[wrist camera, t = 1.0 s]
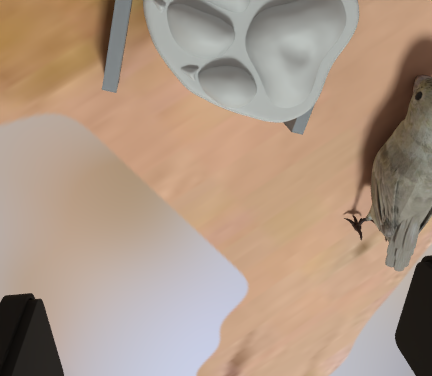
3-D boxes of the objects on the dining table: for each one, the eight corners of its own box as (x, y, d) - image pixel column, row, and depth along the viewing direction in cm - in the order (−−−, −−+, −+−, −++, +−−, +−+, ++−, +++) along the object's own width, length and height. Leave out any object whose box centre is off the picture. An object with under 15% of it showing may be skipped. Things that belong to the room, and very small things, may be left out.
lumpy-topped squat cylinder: (270, 107, 34) (305, 146, 27) (122, 47, 30) (115, 73, 23) (332, -17, 30) (393, -11, 23) (172, -107, 26) (182, -135, 19)
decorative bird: (445, 76, 36) (511, 101, 29) (383, 225, 43) (424, 271, 37) (391, 68, 35) (448, 92, 28) (337, 223, 42) (371, 270, 36)
